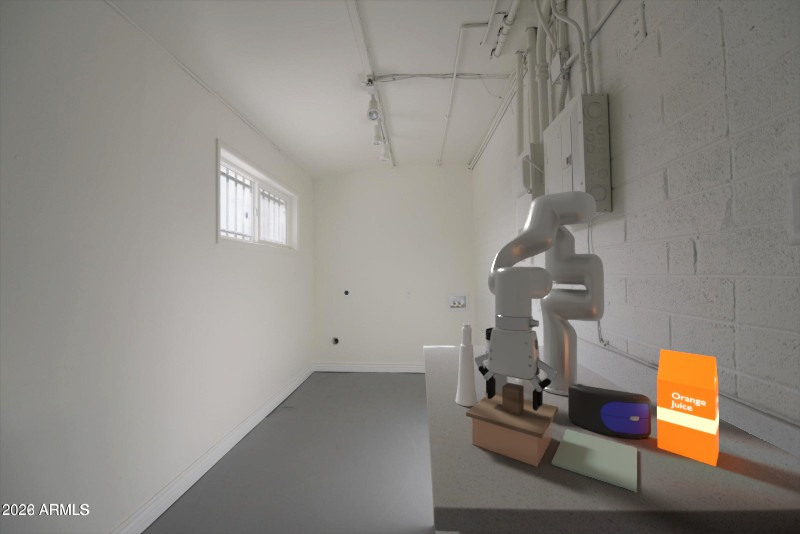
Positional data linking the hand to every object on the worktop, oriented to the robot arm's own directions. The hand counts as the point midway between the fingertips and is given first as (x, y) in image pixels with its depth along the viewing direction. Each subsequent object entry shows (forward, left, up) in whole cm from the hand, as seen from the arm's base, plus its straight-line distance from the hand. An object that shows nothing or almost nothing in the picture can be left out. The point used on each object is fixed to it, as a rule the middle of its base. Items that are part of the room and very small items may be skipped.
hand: (513, 402), depth 69 cm
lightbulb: (-19, -2, -8) cm, 21 cm away
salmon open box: (0, 0, -8) cm, 8 cm away
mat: (-4, +15, -8) cm, 18 cm away
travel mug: (-23, -12, -8) cm, 27 cm away
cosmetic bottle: (-13, -17, -8) cm, 23 cm away
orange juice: (-19, +30, -9) cm, 37 cm away
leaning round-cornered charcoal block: (-19, +16, -9) cm, 26 cm away
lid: (0, 0, -3) cm, 3 cm away
